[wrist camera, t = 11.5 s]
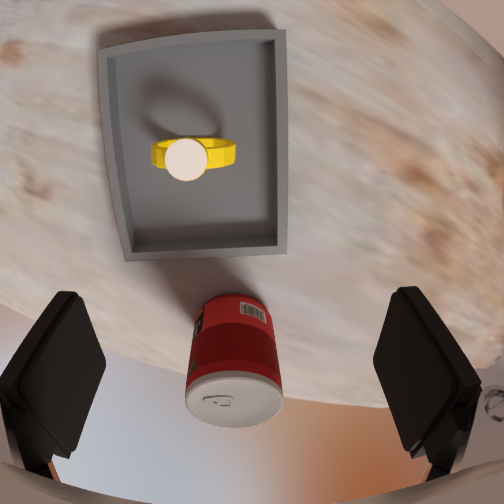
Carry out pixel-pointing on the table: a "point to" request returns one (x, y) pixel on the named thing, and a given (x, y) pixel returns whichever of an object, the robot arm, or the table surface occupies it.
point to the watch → (192, 155)
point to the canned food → (233, 364)
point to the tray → (198, 126)
